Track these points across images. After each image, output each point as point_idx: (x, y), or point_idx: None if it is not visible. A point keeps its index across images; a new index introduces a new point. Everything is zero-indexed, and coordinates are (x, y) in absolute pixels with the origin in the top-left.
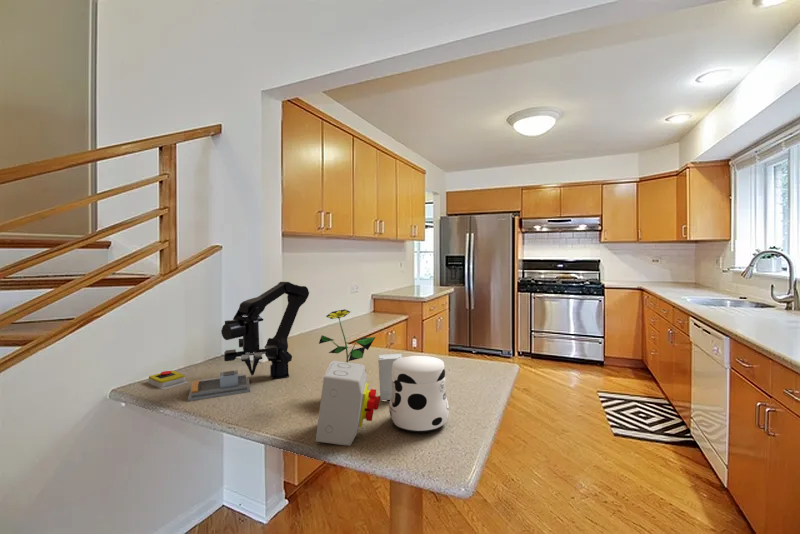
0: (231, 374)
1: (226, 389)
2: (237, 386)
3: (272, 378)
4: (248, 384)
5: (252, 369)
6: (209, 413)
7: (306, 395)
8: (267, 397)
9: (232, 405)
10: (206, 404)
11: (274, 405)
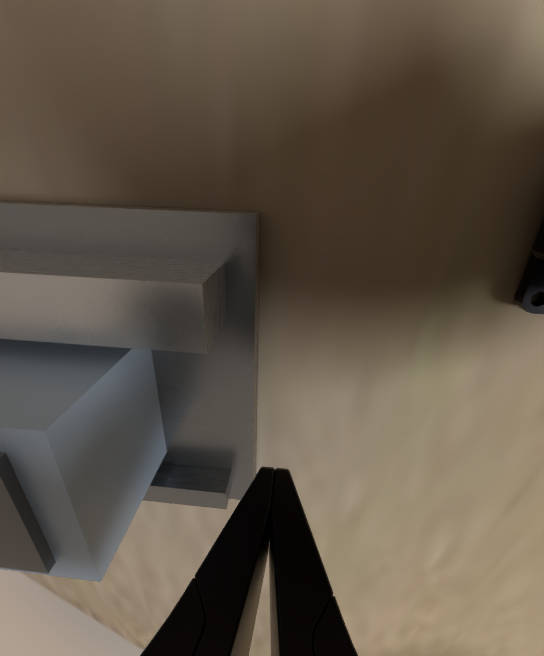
0: (19, 567)
1: None
2: (153, 496)
3: (519, 286)
4: (244, 410)
5: (270, 570)
6: (84, 598)
7: (527, 643)
8: (338, 584)
9: (166, 582)
10: None
11: None
